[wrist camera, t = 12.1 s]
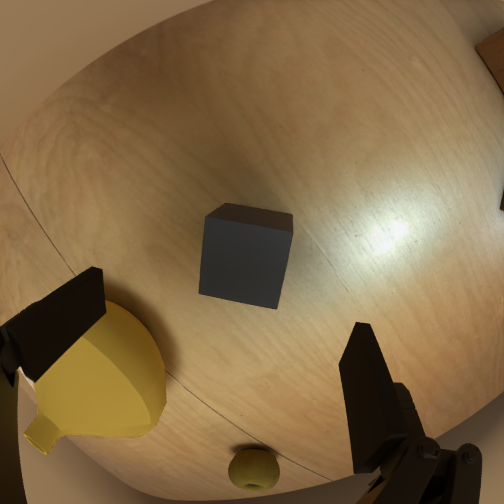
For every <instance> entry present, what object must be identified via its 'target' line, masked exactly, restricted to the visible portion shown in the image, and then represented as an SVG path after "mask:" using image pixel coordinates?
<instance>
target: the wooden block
mask: <svg viewBox="0 0 504 504" xmlns="http://www.w3.org/2000/svg"><path fill="white" fill-rule="evenodd" d="M476 49H477V51H478V53H479V54H480V55H481V57H482V58H483V60H484V61H485V63H486V64H487V66H488V67H489V69H490V71H491V72H492V74H493V76H494V77H495V79H496V81H497V82H498V84H499V86H500V87H501V89H502V91H503V93H504V29H502V30H500V31H499V32H497V33H495V34H494V35H492V36H490V37H489V38H487V39H486V40H484V41H482V42H481V43H479V44H478V45H477V47H476Z"/></svg>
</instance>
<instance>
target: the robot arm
mask: <svg viewBox="0 0 504 504" xmlns="http://www.w3.org/2000/svg"><path fill="white" fill-rule="evenodd" d="M106 313H107V311H106V303H105V294H104V283H103V270H102V269H100V268H96V267H93V266H92V267H90V268H89V269H87V270H85V271H84V272H82V273H81V274H79V275H78V276H76V277H74V278H73V279H71V280H70V281H68V282H67V283H65V284H64V285H62V286H61V287H59V288H58V289H56V290H55V291H53V292H52V293H50V294H49V295H47V296H46V297H44V298H43V299H42V300H40V301H37V302H34V303H32V304H31V305H29V306H28V307H26V308H25V309H24V310H22V311H21V312H20V314H19V313H18V314H17V315H15V316H14V317H13V318H11V319H10V320H8V321H7V322H6V323H4V324H3V325H2V326H0V504H27V500H26V496H25V490H24V485H23V479H22V473H21V465H20V456H19V445H18V424H17V423H18V422H17V405H18V404H17V403H18V382H19V373H18V371H17V369H18V368H19V367H20V366H21V368H22V371H23V373H24V375H25V376H26V377H27V378H29V379H30V380H32V381H33V382H34V383H36V382H37V381H38V380H39V379H40V378H41V377H42V376H43V374H44V373H45V372H46V371H47V370H48V369H49V368H50V367H51V366H52V365H53V364H54V363H55V362H56V361H57V360H58V359H59V358H60V357H61V356H62V355H63V354H64V353H65V352H66V351H67V350H68V349H69V348H70V347H71V346H72V345H73V344H74V343H75V342H76V341H77V340H78V339H79V338H80V337H81V336H83V335H84V334H85V333H86V332H87V331H88V330H89V329H90V328H91V327H92V326H93V325H94V324H95V323H96V322H97V321H98V320H99V319H100V318H101V317H103V316H104V315H105V314H106ZM339 371H340V376H341V382H342V388H343V394H344V400H345V407H346V414H347V421H348V428H349V435H350V443H351V452H352V460H353V470H354V474H360V473H372V472H373V471H374V470H375V469H377V468H378V467H379V466H380V471H381V474H380V475H379V476H378V477H376V478H375V479H374V480H373V481H372V482H371V483H370V484H369V485H370V487H369V488H368V490H367V491H366V492H365V493H364V495H363V496H362V497H361V498H360V499H359V501H358V502H357V503H356V504H479V497H480V488H481V475H482V454H481V452H480V450H479V448H478V447H476V446H475V445H473V444H471V443H466V444H463V445H462V446H461V447H460V448H459V449H458V450H456V451H452V450H445V449H440V446H439V445H438V443H437V442H436V441H435V440H433V439H432V438H429V437H426V435H425V433H424V430H423V427H422V424H421V421H420V418H419V416H418V413H417V410H415V405H414V402H412V401H413V400H412V397H411V394H410V392H409V390H408V389H407V388H406V387H405V386H404V385H403V383H394V382H393V381H392V378H391V375H390V373H389V370H388V367H387V365H386V362H385V360H384V357H383V354H382V352H381V349H380V347H379V344H378V342H377V339H376V337H375V335H374V332H373V330H372V327H371V325H370V324H368V323H360V322H356V323H355V325H354V328H353V331H352V333H351V336H350V338H349V341H348V343H347V346H346V348H345V350H344V353H343V355H342V358H341V360H340V362H339Z"/></svg>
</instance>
